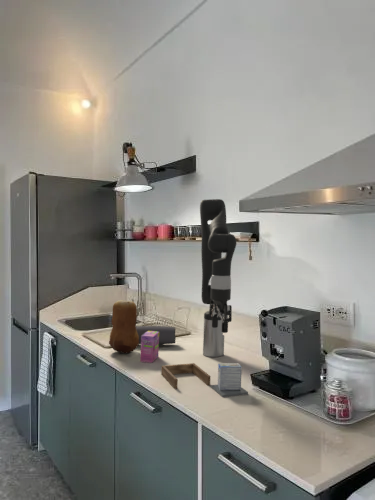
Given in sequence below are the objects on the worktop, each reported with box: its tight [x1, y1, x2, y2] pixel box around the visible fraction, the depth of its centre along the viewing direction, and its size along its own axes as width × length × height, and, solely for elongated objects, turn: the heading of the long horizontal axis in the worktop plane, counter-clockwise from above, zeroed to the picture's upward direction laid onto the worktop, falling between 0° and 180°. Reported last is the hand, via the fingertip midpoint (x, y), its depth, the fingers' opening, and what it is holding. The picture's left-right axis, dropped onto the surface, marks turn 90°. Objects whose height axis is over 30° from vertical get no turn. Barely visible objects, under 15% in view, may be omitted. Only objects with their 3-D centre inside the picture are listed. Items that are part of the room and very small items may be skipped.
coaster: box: [210, 384, 249, 398], centre depth 150 cm, size 10×10×1 cm
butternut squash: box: [108, 299, 140, 354], centre depth 197 cm, size 14×13×25 cm
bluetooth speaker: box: [136, 325, 177, 347], centre depth 212 cm, size 23×9×10 cm, turn 95°
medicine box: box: [217, 362, 243, 390], centre depth 150 cm, size 8×4×9 cm, turn 96°
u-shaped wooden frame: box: [160, 362, 211, 390], centre depth 160 cm, size 14×17×4 cm
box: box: [139, 331, 160, 364], centre depth 187 cm, size 10×6×12 cm, turn 168°
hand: (219, 329), depth 155 cm, fingers open, 8 cm apart
